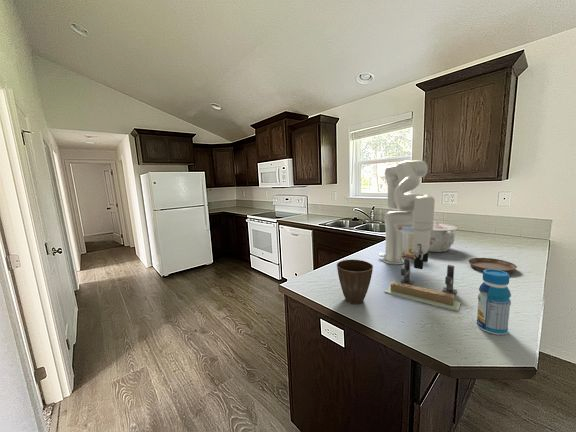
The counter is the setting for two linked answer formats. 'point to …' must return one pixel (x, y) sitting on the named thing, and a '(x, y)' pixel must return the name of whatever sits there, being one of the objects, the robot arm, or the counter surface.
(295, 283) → the counter surface
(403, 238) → the cracker box
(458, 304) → the board
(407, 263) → the bracket
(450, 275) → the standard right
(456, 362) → the counter surface
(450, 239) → the chamber pot
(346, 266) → the plant pot
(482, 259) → the plant saucer
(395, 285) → the rail
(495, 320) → the beverage bottle
